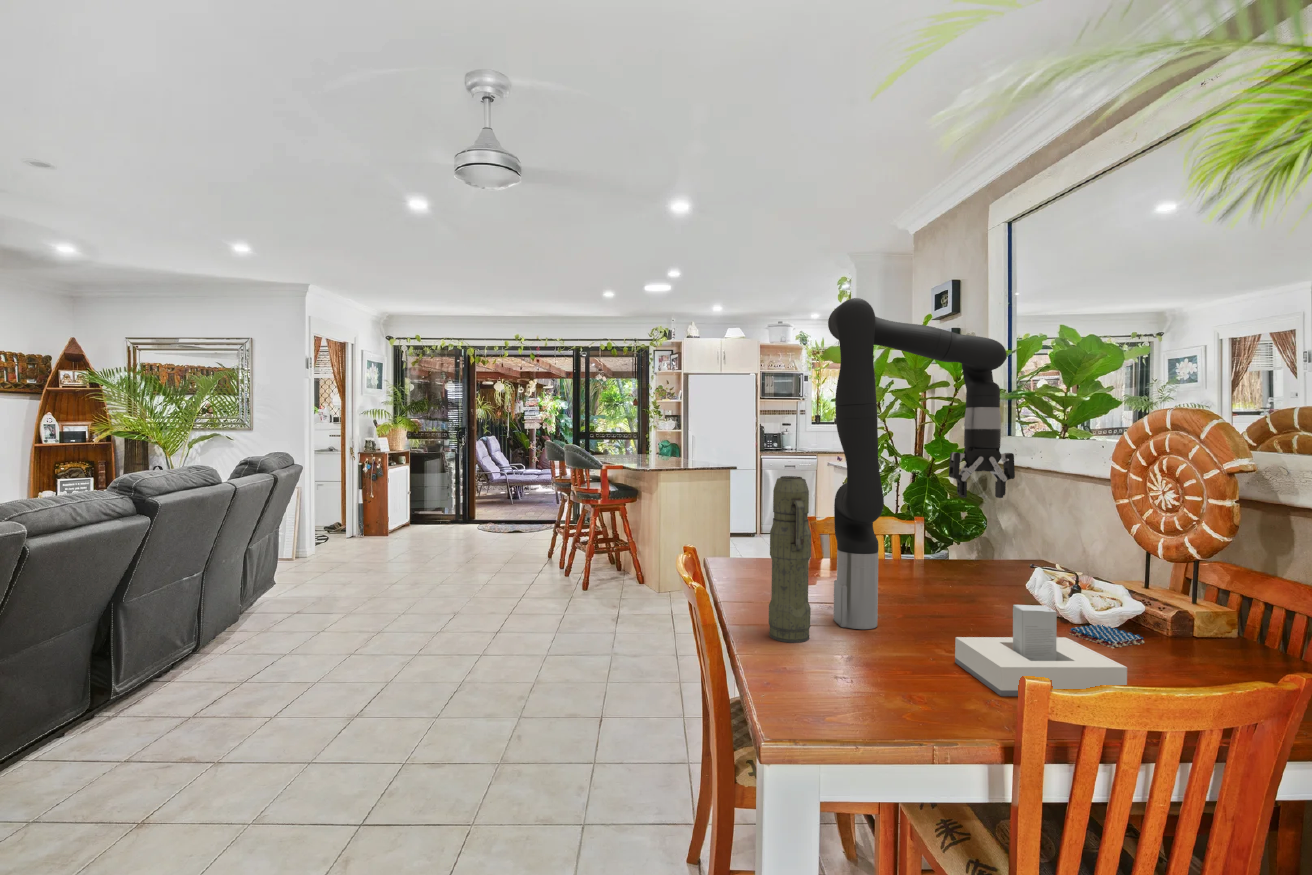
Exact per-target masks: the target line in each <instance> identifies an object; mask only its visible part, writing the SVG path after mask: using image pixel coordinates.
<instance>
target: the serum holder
mask: <svg viewBox="0 0 1312 875" xmlns="http://www.w3.org/2000/svg"><path fill="white" fill-rule="evenodd" d="M954 638H955V641H954V642H955V643H954V644H955V645H954V647H955V649H954V663H955V664H956V665H957V666H959V667H961V668H962V669H963V670H965V671H966V672H967V673H968V674H970V675H971V676H973V677H974V678H976V679H977V680H978V681H979V682H981V683H982V684H983V685H984V686H986V687H987V688H989V689H990V690H992V691H993V692H995V694H997V695H998V696H1000V697H1019V696H1018V685H1019V680H1020V678H1021V677H1022V676H1035V677H1045V678H1049V679H1050V680H1052V686H1053V689H1086V688H1090V687H1095V686H1100V685H1127V686H1128V667H1127V666H1125V665H1123V664H1122V663H1119V662H1117V661H1115V660H1113V659H1111V658H1109V657H1107V656H1105V655H1103V654H1101V653H1099V652H1097V651H1095V650H1093V649H1090V648H1088V647H1086V646H1084V645H1082V644H1080V643H1078V642H1076V641H1075V640H1072V639H1070V638H1068V637H1063V636H1062V637H1059V636H1056V661H1030V660H1028V659H1027V658H1025V657H1023V656H1022V655H1020V654H1018V653H1016V652H1015V651H1013V636H1010V637H1008V636H1007V637H1005V636H1003V637H1000V636H999V637H998V636H997V637H996V636H995V637H993V636H992V637H990V636H985V637H984V636H981V637H980V636H979V637H978V636H974V637H973V636H966V637H965V636H963V637H962V636H956V637H954Z"/></svg>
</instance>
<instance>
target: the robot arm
mask: <svg viewBox="0 0 1312 875" xmlns="http://www.w3.org/2000/svg"><path fill="white" fill-rule="evenodd" d="M827 321H828V322H827V323H828V324H827V327H828V331H829V333H830V334H831V335H832V337H834V338H835V339H836V340H838V344H839V352H840V366H839V372H838V377H837V382H836V389H835V396H834V397H835V400H834V401H835V423H836V424H835V425H836V429H837V435H838V437H839V442H840V445H841V447H842V451H843V454H844V458H845V462H846V482H845V483H842V485H840V487H839V488H838V489H837V491H836V493H835V496H834V505H833V506H834V507H833V508H834V510H833V513H834V514H833V515H834V516H833V518H834V519H833V520H834V535H835V540H836V543H837V544H836V579H835V580H833V621H834V622H835V623H836V624H837V625H838V626H840V628H847V629H854V630H873V629H875V628H877V627H878V610H879V609H878V607H879V605H878V600H879V599H878V598H879V597H878V596H879V549H880V548H879V545H880V544H879V540H878V537H877V536H876V534H875V531H874V530H875V529H874V522H875V521H877V520H878V519H879V518H880V517H881V515H882V513H883V510H884V503H885V498H884V497H885V496H884V491H883V485H882V484H883V483H882V478H881V472H880V471H881V470H880V463H879V434H878V432H879V431H878V424H879V423H878V422H879V421H878V404H877V403H878V402H877V401H878V400H877V388H876V375H875V372H876V371H875V364H874V362H875V361H874V346H881V347H885V348H890V349H893V350H897V351H902V352H905V353H909V354H914V355H916V356H920V357H923V358H927V359H931V360H935V361H940V362H942V363H943V362H944V363H959V364H961V369H962V370H961V371H962V376H963V382H964V384H965V389H966V390H965V391H966V392H965V413H964V423H963V427H964V428H963V430H964V431H963V434H964V436H963V445H964V446H963V447H964V450H963V451H964V452H962V453H961V452H955V451H952V452H950V454H949V466H948V467H949V468H948V477H949V478H950V479H954V480H955V481H956V482H957V483H956V493H957V495H958V496H959V498H964V499H965V498H966V499H967V497H968V481H967V480H968V478H969V477H970V476H971V475H973V473H974V472H990V474H991V475H992V476H993V477H994V478H995V479H996V481H995V488H994V490H995V491H994V496H995V498H997V499H1003V498H1004V496H1005V495H1006V484H1007V481H1010V480H1014V479H1015V478H1016V474H1015V473H1016V472H1015V471H1016V470H1015V468H1016V467H1015V454H1014V453H1013V452H1004V453H1001V450H1000V448H1001V436H1002V435H1001V428H1002V422H1001V421H1002V416H1001V410H1000V407H1001V406H1000V405H1001V391H1000V390H1001V389H1000V386H999V384H998V383H996V382H994V376H993V371H994V370H997V369H998V368H1000V367H1001V366H1003V364H1004V363H1005V361H1006V359H1007V351H1006V347H1005V346H1004V345H1003V344H1002V343H1001V342H999V341H997V340H995V339H993V338H988V337H984V336H978V335H977V336H976V335H969V334H960V333H957V332H954V331H950V330H946V329H944V328H943V329H942V328H939V327H934V326H929V325H925V324H918V323H906V322H897V321H893V320H888V319H884V318H880V317H877V316H876V314H875V311H874V309H873V307H872V305H871V304H870V303H869V301H867V300H865V299H863V298H860V297H854V298H849V299H847V300H845V301H844V302H841V304H839V305H838V306H836V308H834V309H833V311H832V312H831V313H830V314H829V317H828V320H827ZM963 460H964V462H965V464H964V465H963V466H962V467H961V469H960V465H961V462H962V461H963ZM1000 461H1002V463H1003V464H1002V465H1003V469H1002V468H1001V466H1000V465H999V462H1000Z"/></svg>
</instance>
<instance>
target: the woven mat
mask: <svg viewBox="0 0 1312 875" xmlns="http://www.w3.org/2000/svg"><path fill="white" fill-rule="evenodd" d="M1103 625H1104V624H1103ZM1103 625H1102V626H1101V624H1094V625H1093V624H1091V625H1089V626H1088V625H1085V626H1082V625H1081V626H1080V627H1078V626H1077V627H1076V626H1075V627H1071V628H1070V630H1069V631H1068V632H1069V635H1071V636H1074V637H1076V638H1080V639H1083V640H1085V641H1090V642H1092V643H1096V644H1098V645H1100V646H1101V645H1102V646H1105V647H1108V648H1111V649H1115V648H1123V647H1129V646H1133V645H1134V646H1135V645H1136V646H1137V645H1141V644H1142V645H1143V644H1145V640H1144V637H1143V636H1141V635H1140V634H1133V632H1127V631H1126V630H1123V629H1122V630H1119V628H1112V626H1109V625H1107V626H1105V625H1104V626H1103Z"/></svg>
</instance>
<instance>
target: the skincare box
mask: <svg viewBox="0 0 1312 875" xmlns="http://www.w3.org/2000/svg"><path fill="white" fill-rule="evenodd" d="M1057 614H1058V613H1057V611H1056V610H1055V609H1052V608H1051V607H1049V606H1047V605H1041V604H1039V605H1038V604H1037V605H1035V604H1033V605H1031V604H1013V605H1012V637H1013V651H1015V652H1016V653H1018V654H1020V655H1022V656H1023V657H1025V658H1027V659H1028V660H1030V661H1056V637H1057V635H1058V634H1057V629H1058V628H1057V626H1058V625H1057V622H1058V621H1057V618H1058V616H1057Z"/></svg>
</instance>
